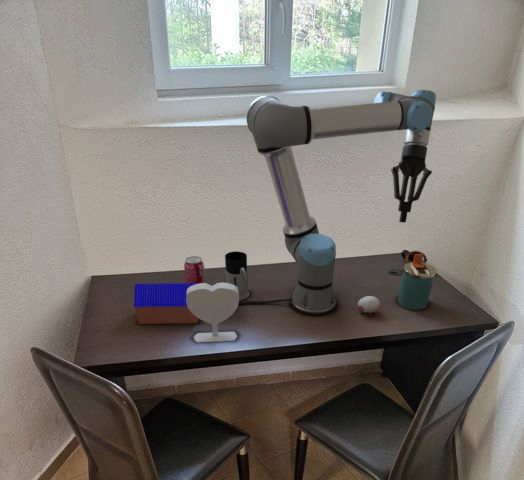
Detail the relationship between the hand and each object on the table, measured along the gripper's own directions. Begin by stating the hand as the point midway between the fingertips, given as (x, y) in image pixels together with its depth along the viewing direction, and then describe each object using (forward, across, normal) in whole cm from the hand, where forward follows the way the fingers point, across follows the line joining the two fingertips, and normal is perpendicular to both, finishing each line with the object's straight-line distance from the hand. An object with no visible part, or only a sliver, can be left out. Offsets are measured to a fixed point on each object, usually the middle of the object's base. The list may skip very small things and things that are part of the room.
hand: (402, 222), depth 153 cm
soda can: (+31, -69, +7) cm, 76 cm away
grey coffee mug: (+31, -52, +2) cm, 61 cm away
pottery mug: (+16, +14, +28) cm, 35 cm away
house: (+38, -74, -9) cm, 83 cm away
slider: (+13, +8, -1) cm, 15 cm away
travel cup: (+27, +9, +2) cm, 28 cm away
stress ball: (+30, -8, -4) cm, 32 cm away
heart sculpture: (+41, -57, -21) cm, 73 cm away
